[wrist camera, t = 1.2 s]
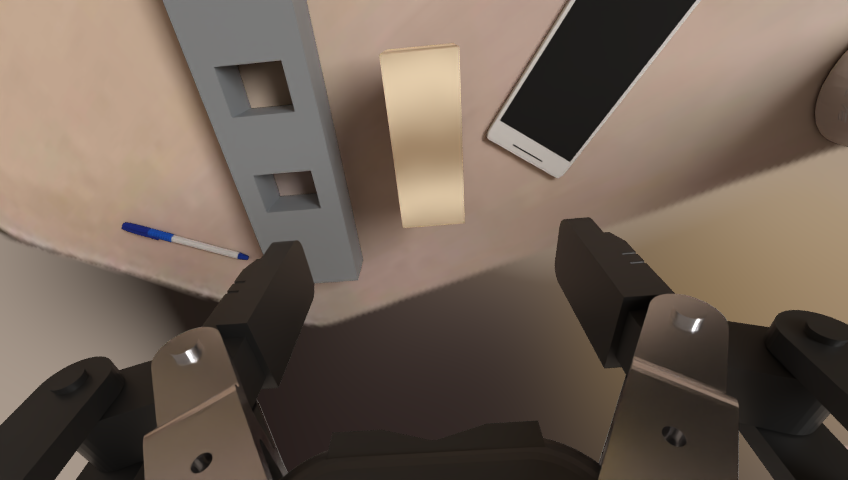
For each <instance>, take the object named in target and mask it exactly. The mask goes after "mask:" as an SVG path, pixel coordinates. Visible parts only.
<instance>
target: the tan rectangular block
mask: <svg viewBox="0 0 848 480" xmlns="http://www.w3.org/2000/svg"><path fill="white" fill-rule="evenodd" d="M379 57H380V65H381V72H382V79H383V87H384V94H385V101H386V109H387V116H388V123H389V130H390V138H391V145H392V152H393V160H394V167H395V174H396V182H397V189H398V196H399V203H400V211H401V218H402V225H403V228H412V227H424V226H437V225H450V224H463V223H465V219H464V186H463V153H462V119H461V86H460V53H459V46H457V45H456V44H454V43H449V44H439V45H429V46H419V47H409V48H399V49H389V50H385V51H384V52H382V53H381V54H380V55H379Z"/></svg>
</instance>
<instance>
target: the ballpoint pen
mask: <svg viewBox="0 0 848 480" xmlns="http://www.w3.org/2000/svg"><path fill="white" fill-rule="evenodd" d="M122 229H123V230H126V231H128V232H131V233H134V234H138V235H141V236H145V237H149V238H152V239H156V240H159V239H162V240H165V241H169V242H175V243H179V244H183V245H187V246H190V247H194V248H198V249H202V250H206V251H209V252H213V253H217V254H221V255H225V256H228V257H232V258H236V259H243V260H248V258H249V256H247V255H245V254H242V253H240V252H236V251H232V250H229V249H225V248H221V247H217V246H214V245H210V244H206V243H202V242H199V241H195V240H191V239H187V238H184V237H180V236H176V235H173V234H171V233H166V232H163V231H159V230H156V229H151V228H149V227H145V226H141V225H137V224H133V223H127V222H125V223H123V224H122Z"/></svg>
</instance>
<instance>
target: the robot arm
mask: <svg viewBox="0 0 848 480" xmlns="http://www.w3.org/2000/svg"><path fill="white" fill-rule="evenodd" d="M815 118H816V125H817V127H818V129H819V131H820V133H821V134H822V135H823V136H824V137H825V138H826V139H827V140H829V141H832V142H834V143H837V144H840V145H843V146H847V147H848V50H847V51H846V52H845V53H844V54H843V55H842V57H841V58H840V59H839V61H838V62H837V63H836V65H835V66H834V67H833V69H832V70H831V71H830V73H829V75H828V77H827V78H826V80H825V82H824V84H823V85H822V88H821V91H820V93H819V96H818V99H817V103H816V110H815ZM555 272H556V277H557V280H558V283H559V284H560V286H561V288H562V290H563V292H564V294H565V296H566V298H567V299H568V301H569V303H570V305H571V307H572V309H573V311H574V313H575V314H576V316H577V318H578V320H579V322H580V324H581V326H582V328H583V329H584V331H585V333H586V335H587V337H588V339H589V341H590V343H591V344H592V346H593V348H594V350H595V352H596V354H597V356H598V358H599V359H600V361H601V363H602V365H603V367H604V368H617V367H622V368H623V370H624V372H625V374H626V377H625V380H624V383H623V386H622V389H621V392H620V396H619V399H618V402H617V406H616V409H615V413H614V416H613V419H612V422H611V425H610V429H609V432H608V435H607V438H606V442H605V445H604V448H603V451H602V454H601V458H600V460H599V463H597V462H596V461H595V460H593V459H592V458H590V457H589V456H587V455H585V454H583V453H582V452H580V451H578V450H576V449H574V448H572V447H569V446H567V445H565V444H562V443H559V442H556V441H553V440H550V439H546V438H543V436H542V433H541V430H540V426H539V423H538V421H525V422H508V423H490V424H484V425H481V426H478V427H475V428H472V429H469V430H466V431H463V432H460V433H457V434H454V435H451V436H448V437H445V438H442V439H438V440H427V439H423V438H418V437H413V436H409V435H404V434H399V433H395V432H390V431H385V430H370V431H353V432H336V433H332V437H331V441H330V446H329V450H328V451H325V452H322V453H320V454H318V455H316V456H314V457H312V458H310V459H308V460H306V461H305V462H303V463H301V464H300V465H298V466H297V467H295V468H294V469H293V470H291V471H290V472H289V473H288V472H287V470H286V468H285V466H284V464H283V462H282V459H281V457H280V454H279V452H278V449H277V447H276V445H275V442H274V440H273V437H272V434H271V432H270V430H269V427H268V425H267V422H266V420H265V417H264V414H263V413H262V409H261V407H260V405H259V403H258V401H257V397H258V394H259V392H260V390H261V389H268V388H278V387H279V385H280V382H281V380H282V377H283V375H284V372H285V370H286V367H287V364H288V362H289V359H290V357H291V354H292V352H293V349H294V347H295V344H296V342H297V339H298V336H299V334H300V331H301V329H302V326H303V324H304V321H305V319H306V316H307V313H308V311H309V308H310V306H311V303H312V301H313V297H314V281H313V278H312V275H311V271H310V268H309V265H308V262H307V259H306V256H305V253H304V250H303V247H302V244H301V243H300V242H299V241H298V240H294V241H281V242H273V243H271V245H270V246H269V248H268V249H267V250H266V252H265V253H264V255H263V256H262V258H261V259H257V260H255V261H254V262H253V263H251V264H250V265H249V266H247V267H246V268H245V269H243V271H242V272H241V273H240V275H239V276H238V277H237V279H236V280H235V284H232V286H231V287H230V288H229V290H228V291H227V292H228V294H225V295H224V297H223V298H222V300H221V301H220V302H219V304H218V305H217V307H216V308H215V309H214V311H213V312H212V314H211V315H210V316H209V317H208V319H207V320H206V322H205V323H204V324H203V326H202V327H199V328H195V329H191V330H188V331H186V332H184V333H181V334H179V335H177V336H176V337H174V338H172V339H171V340H170V341H168V342H167V343H166V344H165V345H163V346H162V347H161V348H160V349H159V350H158V352H157V353H156V354H155V356H154V358H153V360H152V361H148V362H145V363H142V364H138V365H135V366H132V367H129V368H125V369H122V370H118V368H117V367H116V366H115V365H114V364H113V363H112V361H111V360H110V359H109V358H106V357H92V358H88V359H84V360H81V361H79V362H76V363H74V364H71V365H69V366H67V367H66V368H64V369H62V370H60V371H59V372H57V373H55V374H54V375H53V376H51V377H50V378H48V379H47V380H46V381H45V382H43V383H42V384H41V385H40V386H39V387H38V388H37V389H36V390H35V391H34V392H33V393H32V394H31V395H30V396H29V397H28V398H27V399H26V400H25V401H24V402H23V403H22V404H21V405H20V406H19V407H18V408H17V409H16V410H15V411H14V412H13V413H12V414H11V415H10V416H9V417H8V418H7V419H6V420H5V421H4V422H3V423H2V424H1V425H0V480H55V479H56V477H57V476H58V474H59V473H60V472H61V471H62V469H63V467H65V465H66V464H67V463H68V461H69V460H70V459H71V457H72V456H73V455H74V453H75V452H76V451H77V452H79V453H80V454H81V455H82V456H83V457H84V458H86V459H87V460H88V461H89V462H88V463H87V465H86V466H85V468H84V469H83V470H82V472H81V473H80V475H79V476H78V477H77V479H76V480H738V471H739V470H738V468H739V464H738V463H739V431H740V433H741V434H742V435H743V437H744V438H745V440H746V441H747V442H748V444H749V445H750V447H751V448H752V449H753V451H754V452H755V453H756V455H757V456H758V458H759V459H760V461H761V462H762V463H763V465H764V466H765V468H766V469H767V470H768V471H769V473H770V474H771V476H772V477H773V479H774V480H848V450H847V449H846V448H845V446H844V445H843V444H842V443H841V442H840V441H839V440H838V439H837V438H836V437H835V436H834V435H833V434H832V433H831V432H830V431H829V429H828V428H827V427H826V426H825V425H824V424H823V423H822V422H823V421H824V420H825V419H826V418H827V417H828V416H829V414H830V413H831V414H832V415H833V416H834V417H835V418H836V419H837V420H838V421H839V422H840V423H841V424H842V425H843V426H844V427H845V428H846V430H847V431H848V325H847V324H845V323H843V322H841V321H839V320H836V319H833V318H831V317H828V316H825V315H822V314H818V313H814V312H809V311H801V310H789V311H784V312H781V313H779V314H778V315H777V316H776V317H775V319H774V321H773V323H772V324H771V326H770V327H764V326H757V325H750V324H743V323H737V322H730V321H727V320H726V318H725V317H724V316H723V315H722V314H721V312H719V311H718V310H717V309H716V308H714V307H713V306H711V305H709V304H708V303H706V302H704V301H701V300H699V299H696V298H694V297H690V296H686V295H681V294H675V293H674V292H673V291H672V290H671V289H670V288H669V287H668V286H667V285H666V283H665V282H663V280H662V279H661V278H660V277H659V276H658V275H657V274H656V273H655V272H654V271H653V270H652V269H651V268H650V267H649V266H648V264H646V263H644V260H643V259H642V258H641V257H640V256H639V255H638V254H636V253H635V251H634V250H633V249H632V248H631V246H630V245H629V244H628V243H627V242H626V241H624V240H622V239H621V238H619V237H617V236H615V235H614V234H612V233H610V232H605V233H604V232H603V231H602V230H601V229H600V228H599V227H598V226H597V224H596V223H595V222H594V221H593V220H592V219H591V218H589V217H587V218H575V219H564V220H562V221H561V224H560V228H559V235H558V243H557V251H556V258H555Z"/></svg>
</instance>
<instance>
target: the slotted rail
mask: <svg viewBox="0 0 848 480" xmlns="http://www.w3.org/2000/svg"><path fill="white" fill-rule="evenodd" d="M163 3H164V5H165V8H166V10H167V13H168V15H169V18H170V20H171V23H172V26H173V28H174V31H175V33H176V36H177V38H178V41H179V43H180V46H181V48H182V51H183V53H184V56H185V58H186V61H187V63H188V66H189V68H190V71H191V73H192V76H193V78H194V81H195V84H196V86H197V89H198V91H199V94H200V96H201V99H202V101H203V104H204V106H205V109H206V111H207V114H208V116H209V119H210V121H211V124H212V126H213V129H214V131H215V134H216V137H217V139H218V142H219V144H220V147H221V149H222V152H223V154H224V157H225V159H226V162H227V164H228V167H229V169H230V172H231V174H232V177H233V179H234V182H235V184H236V187H237V189H238V192H239V195H240V197H241V200H242V202H243V205H244V207H245V210H246V212H247V215H248V217H249V220H250V222H251V225H252V227H253V230H254V232H255V235H256V237H257V240H258V242H259V245H260V248H261V250H262V253H263V255H264V253H265V252H266V250H267V249H268V248H269V246H270V245H271V243H273V242H281V241H294V240H298V241H299V242H300V243H301V244H302V247H303V250H304V253H305V256H306V259H307V262H308V265H309V268H310V271H311V275H312V278H313V281H314V283H325V282H339V281H353V280H358V278H359V274H360V270H361V266H362V262H363V257H362V253H361V248H360V244H359V239H358V234H357V230H356V225H355V221H354V216H353V212H352V207H351V202H350V198H349V193H348V189H347V184H346V179H345V175H344V170H343V166H342V161H341V156H340V152H339V147H338V143H337V138H336V134H335V129H334V124H333V120H332V115H331V111H330V106H329V101H328V97H327V92H326V88H325V83H324V78H323V74H322V69H321V65H320V60H319V55H318V51H317V46H316V42H315V37H314V33H313V28H312V23H311V19H310V14H309V10H308V5H307V0H163ZM279 60H281V61H282V65H283V69H284V73H285V76H286V80H287V84H288V87H289V91H290V95H291V99H292V102H293V104H292V105H282V106H271V107H260V108H251V106H250V103H249V100H248V97H247V94H246V91H245V88H244V85H243V82H242V79H241V76H240V73H239V70H238V67H237V65H239V64H249V63H259V62H269V61H279ZM300 171H311V173H312V177H313V180H314V184H315V188H316V191H317V193H314V194H302V195H290V196H280V194H279V191H278V188H277V185H276V182H275V179H274V176H273V174H277V173H288V172H300Z"/></svg>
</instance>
